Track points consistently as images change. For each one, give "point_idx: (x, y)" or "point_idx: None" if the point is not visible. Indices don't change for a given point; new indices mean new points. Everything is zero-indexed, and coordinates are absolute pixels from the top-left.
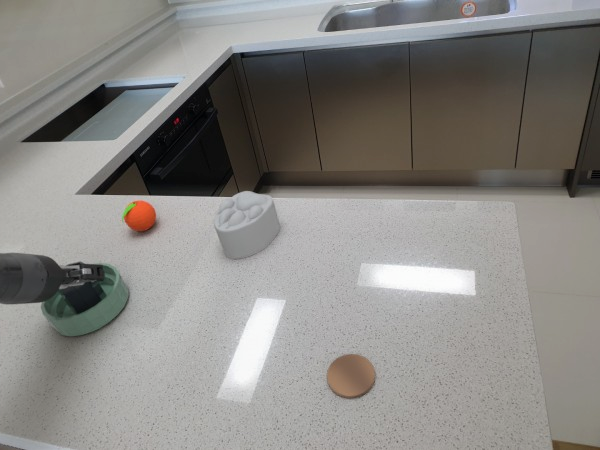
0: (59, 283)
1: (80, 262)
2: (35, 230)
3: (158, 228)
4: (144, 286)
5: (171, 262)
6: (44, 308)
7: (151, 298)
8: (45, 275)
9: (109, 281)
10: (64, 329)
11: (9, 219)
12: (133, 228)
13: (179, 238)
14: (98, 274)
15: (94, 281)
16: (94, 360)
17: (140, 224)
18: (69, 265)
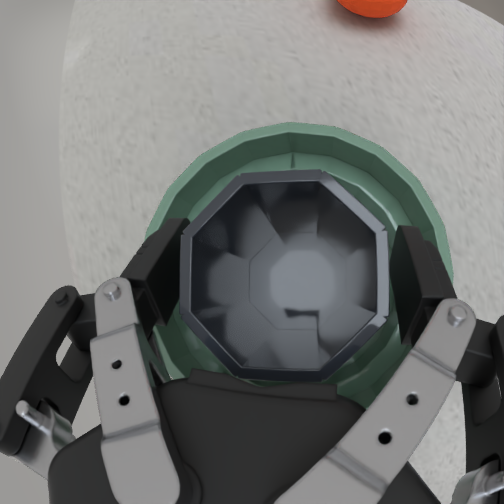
0: None
1: (326, 182)
2: (108, 11)
3: (402, 23)
4: (450, 233)
5: (493, 158)
6: (160, 338)
7: (475, 295)
8: None
9: (351, 192)
10: None
11: (77, 5)
12: (357, 7)
13: (475, 77)
14: (490, 382)
15: (397, 312)
16: None
17: (385, 4)
18: (253, 184)
